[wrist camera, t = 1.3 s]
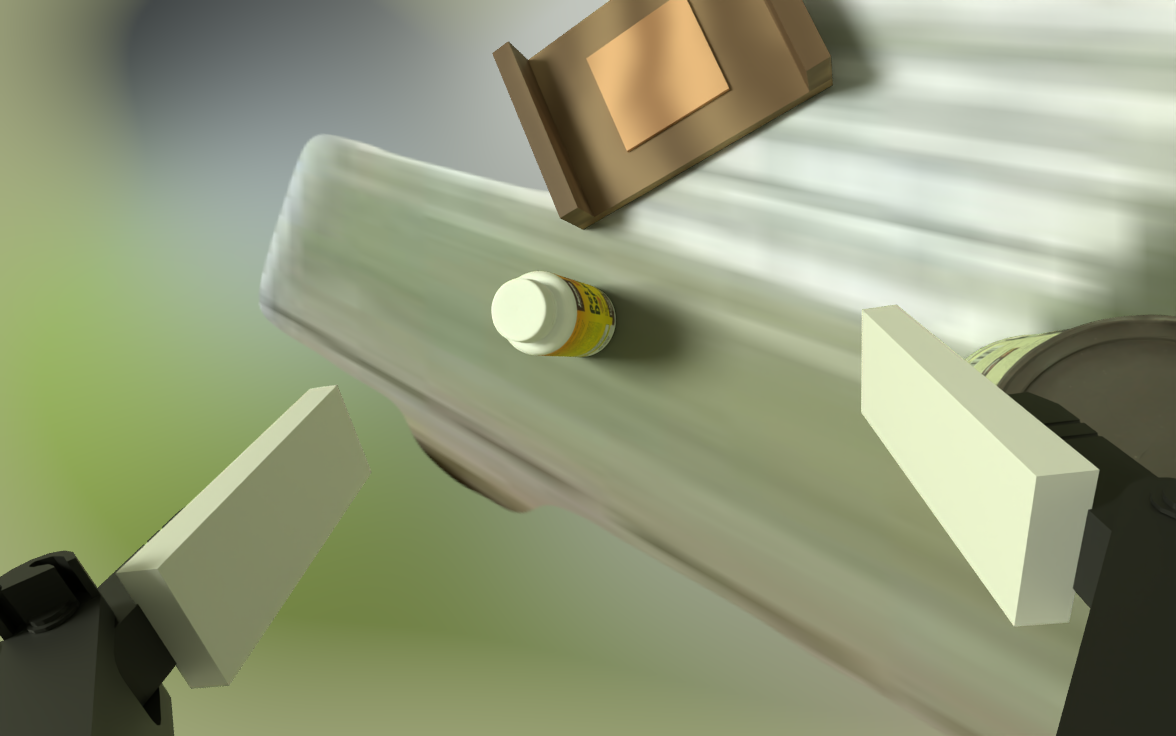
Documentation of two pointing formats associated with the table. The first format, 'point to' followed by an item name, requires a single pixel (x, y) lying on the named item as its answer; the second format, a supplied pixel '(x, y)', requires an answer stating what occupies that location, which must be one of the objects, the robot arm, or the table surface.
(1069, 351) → the coffee can
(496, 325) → the supplement bottle
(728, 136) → the wooden tray with rails
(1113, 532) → the robot arm
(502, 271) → the table surface
